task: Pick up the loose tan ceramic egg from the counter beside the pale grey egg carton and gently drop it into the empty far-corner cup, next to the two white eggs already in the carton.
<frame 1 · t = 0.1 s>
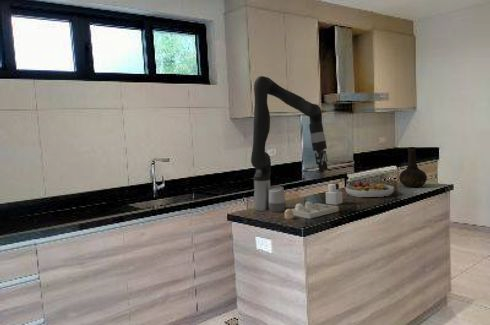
hand: (323, 171, 205), 22 cm above the countertop, tool pointing down, fingers open, 8 cm apart
egg carton: (313, 214, 204), on the countertop
smart speaker: (277, 212, 214), on the countertop
bowl: (369, 195, 252), on the countertop
white egg middle: (309, 211, 207), point 1 cm above the countertop, touching egg carton
tan egg: (289, 219, 195), on the countertop
dark brown vase: (412, 186, 272), on the countertop
medicine bottle: (334, 203, 229), on the countertop
white egg near: (299, 213, 203), point 1 cm above the countertop, touching egg carton
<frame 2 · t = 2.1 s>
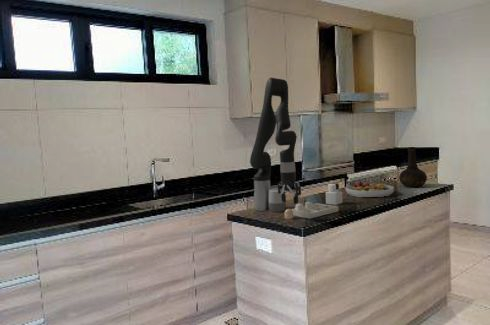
hand: (289, 202, 194), 9 cm above the countertop, tool pointing down, fingers open, 8 cm apart
nothing on the countertop moved.
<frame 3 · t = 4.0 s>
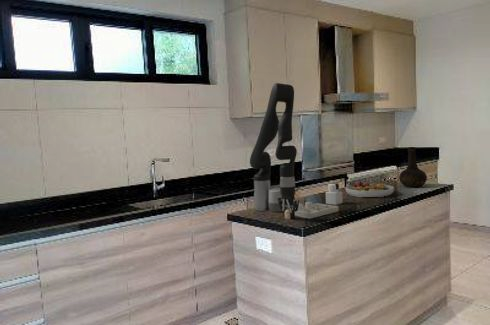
hand: (289, 218, 195), 1 cm above the countertop, tool pointing down, fingers closed on tan egg, 4 cm apart
tan egg: (289, 219, 195), on the countertop, touching gripper
everything else where it was.
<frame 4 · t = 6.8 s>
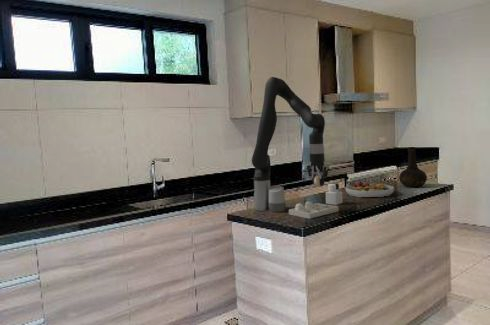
hand: (318, 185, 201), 16 cm above the countertop, tool pointing down, fingers closed on tan egg, 4 cm apart
tan egg: (318, 186, 201), point 15 cm above the countertop, touching gripper
everything else where it was.
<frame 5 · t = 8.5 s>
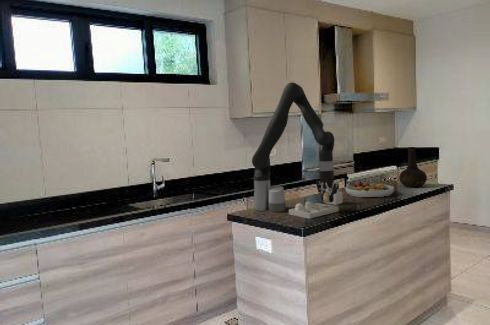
hand: (327, 201, 205), 6 cm above the countertop, tool pointing down, fingers closed on tan egg, 4 cm apart
tan egg: (327, 202, 205), point 6 cm above the countertop, touching gripper
everything else where it was.
when the fingers open (4 cm above the countertop, at t = 9.7 s): tan egg drops 3 cm, resting on egg carton.
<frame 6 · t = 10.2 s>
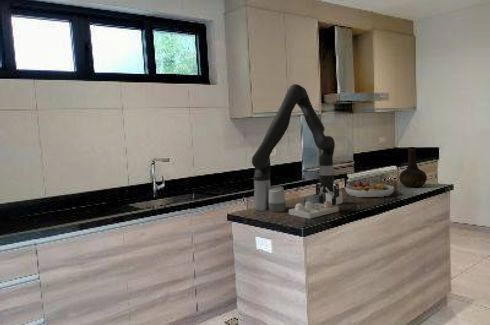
hand: (327, 204, 205), 5 cm above the countertop, tool pointing down, fingers open, 8 cm apart
tan egg: (327, 211, 206), point 1 cm above the countertop, touching egg carton
everything else where it was.
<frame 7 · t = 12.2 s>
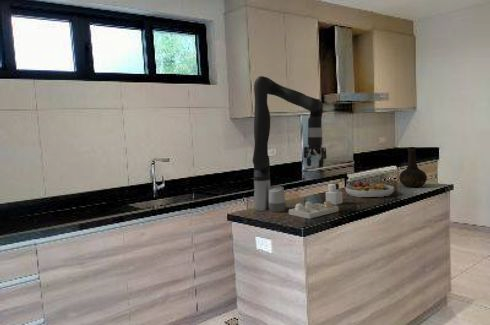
hand: (314, 166, 207), 25 cm above the countertop, tool pointing down, fingers open, 8 cm apart
nothing on the countertop moved.
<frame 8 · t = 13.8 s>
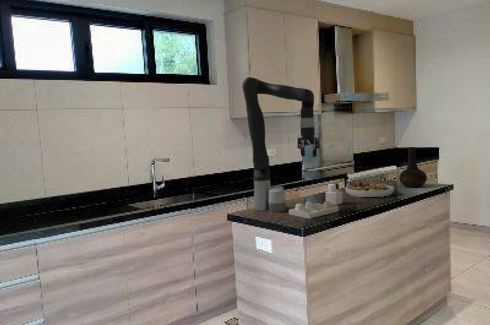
hand: (308, 156, 209), 30 cm above the countertop, tool pointing down, fingers open, 8 cm apart
nothing on the countertop moved.
at the end: tan egg 0.1 cm from the target spot on the egg carton, point 0.8 cm above the egg carton's base; tan egg tilted 0°; the gripper is holding nothing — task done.
